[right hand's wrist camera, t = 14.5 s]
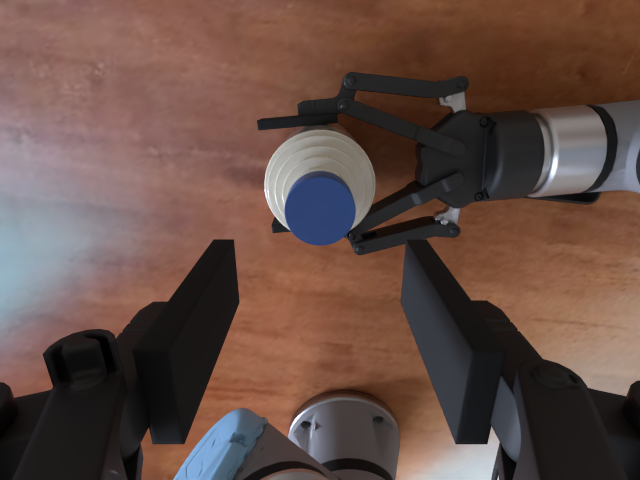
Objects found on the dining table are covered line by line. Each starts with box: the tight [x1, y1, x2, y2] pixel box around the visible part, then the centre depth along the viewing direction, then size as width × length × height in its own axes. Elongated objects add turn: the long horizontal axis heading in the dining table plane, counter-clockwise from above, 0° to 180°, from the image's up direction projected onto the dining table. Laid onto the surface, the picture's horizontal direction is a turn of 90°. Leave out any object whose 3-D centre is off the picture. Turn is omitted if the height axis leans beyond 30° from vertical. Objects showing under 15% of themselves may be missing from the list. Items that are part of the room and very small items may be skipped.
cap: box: [284, 171, 356, 245], centre depth 23 cm, size 4×4×2 cm
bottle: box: [265, 123, 376, 231], centre depth 30 cm, size 8×8×18 cm
